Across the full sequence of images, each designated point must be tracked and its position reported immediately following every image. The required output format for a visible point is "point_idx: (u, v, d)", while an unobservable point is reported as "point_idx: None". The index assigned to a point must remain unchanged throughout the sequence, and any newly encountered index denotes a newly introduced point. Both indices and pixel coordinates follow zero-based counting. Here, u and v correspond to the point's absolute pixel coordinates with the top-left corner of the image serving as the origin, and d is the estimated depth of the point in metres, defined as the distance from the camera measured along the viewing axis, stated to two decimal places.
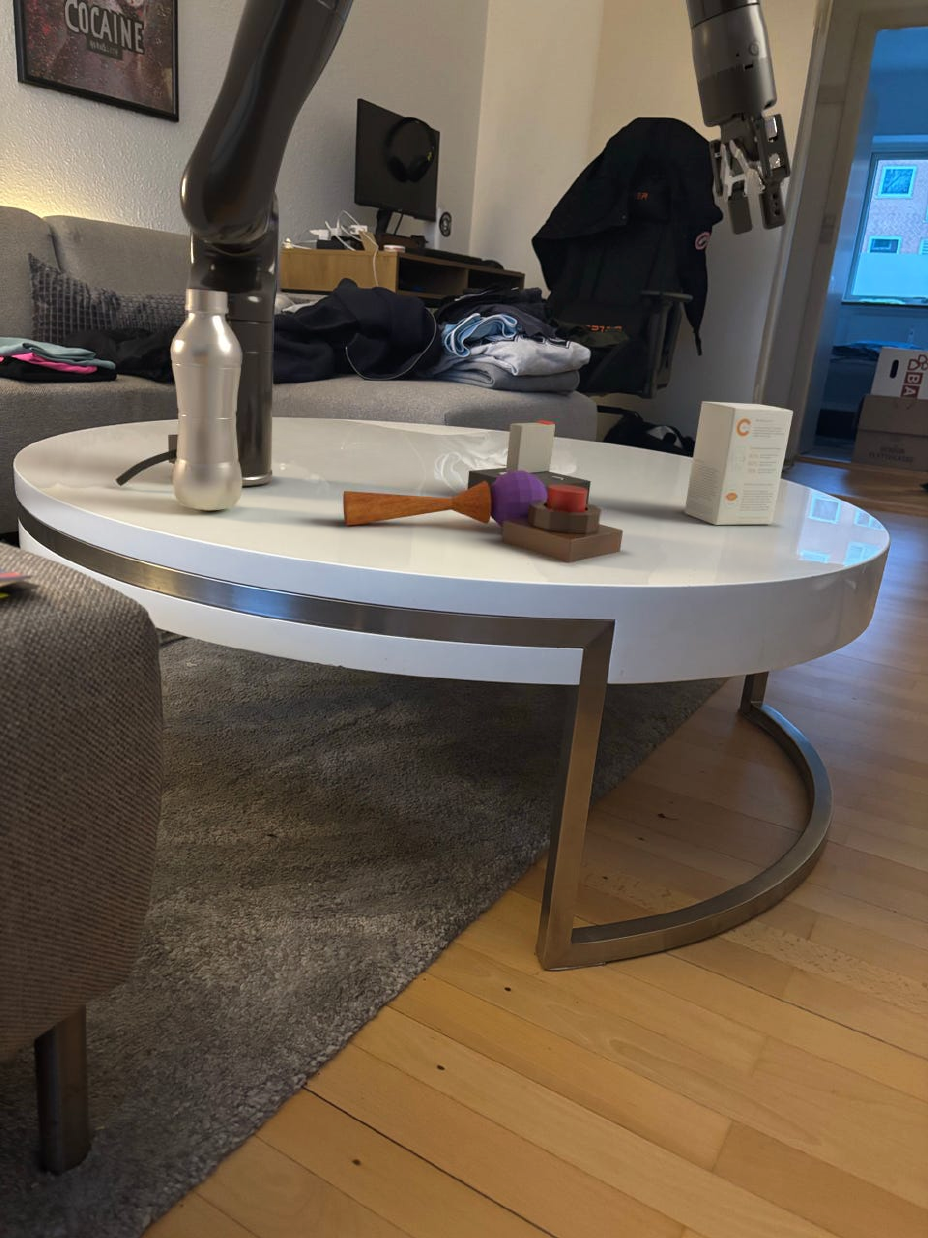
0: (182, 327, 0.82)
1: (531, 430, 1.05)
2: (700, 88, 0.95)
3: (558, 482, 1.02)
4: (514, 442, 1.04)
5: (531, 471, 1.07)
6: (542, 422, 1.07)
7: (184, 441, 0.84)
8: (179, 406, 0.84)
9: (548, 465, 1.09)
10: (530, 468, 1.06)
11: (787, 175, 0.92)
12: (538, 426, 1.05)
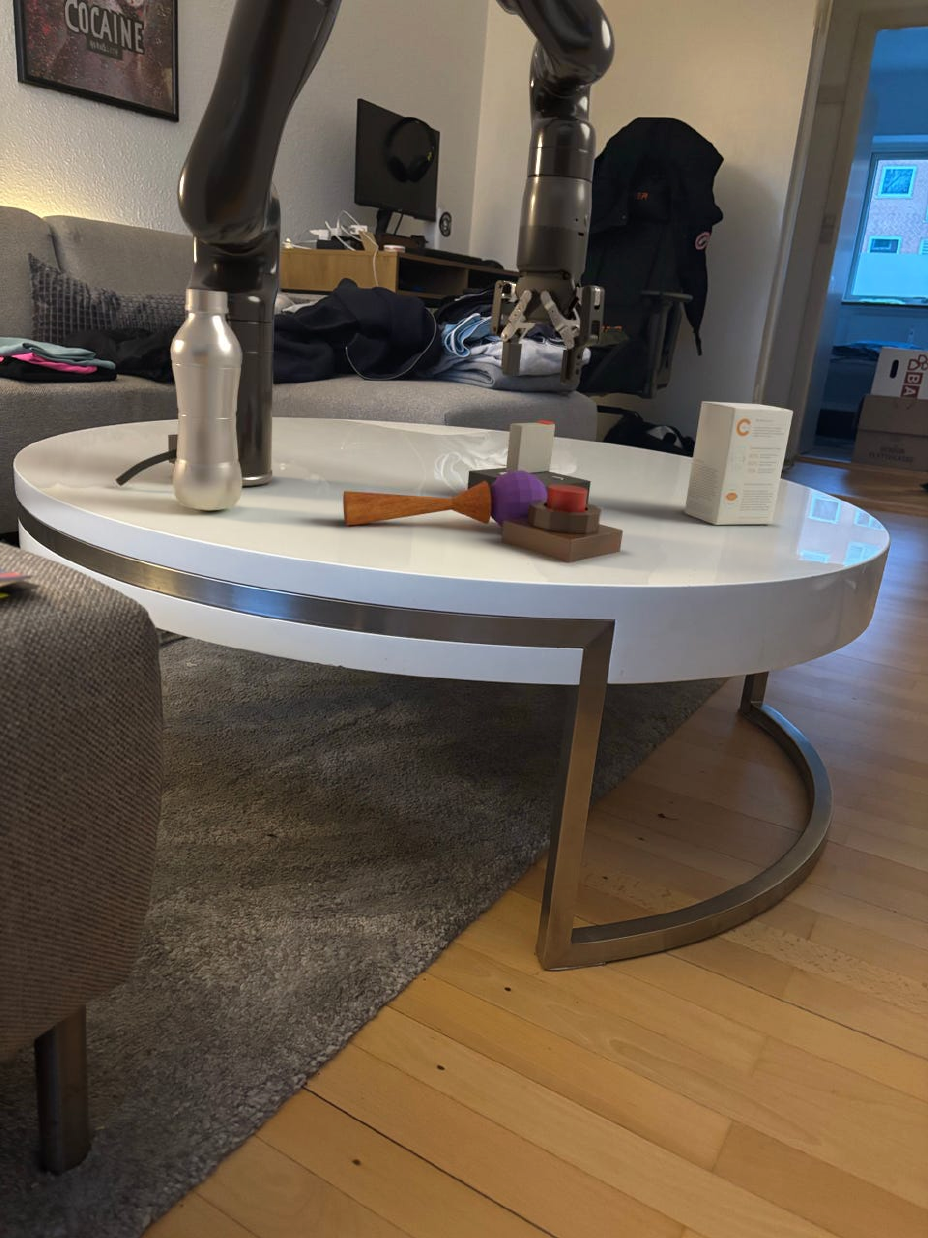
0: (182, 327, 0.82)
1: (531, 430, 1.05)
2: (531, 233, 0.97)
3: (558, 482, 1.02)
4: (514, 442, 1.04)
5: (531, 471, 1.07)
6: (542, 422, 1.07)
7: (184, 441, 0.84)
8: (179, 406, 0.84)
9: (548, 465, 1.09)
10: (530, 468, 1.06)
11: (597, 343, 0.99)
12: (538, 426, 1.05)
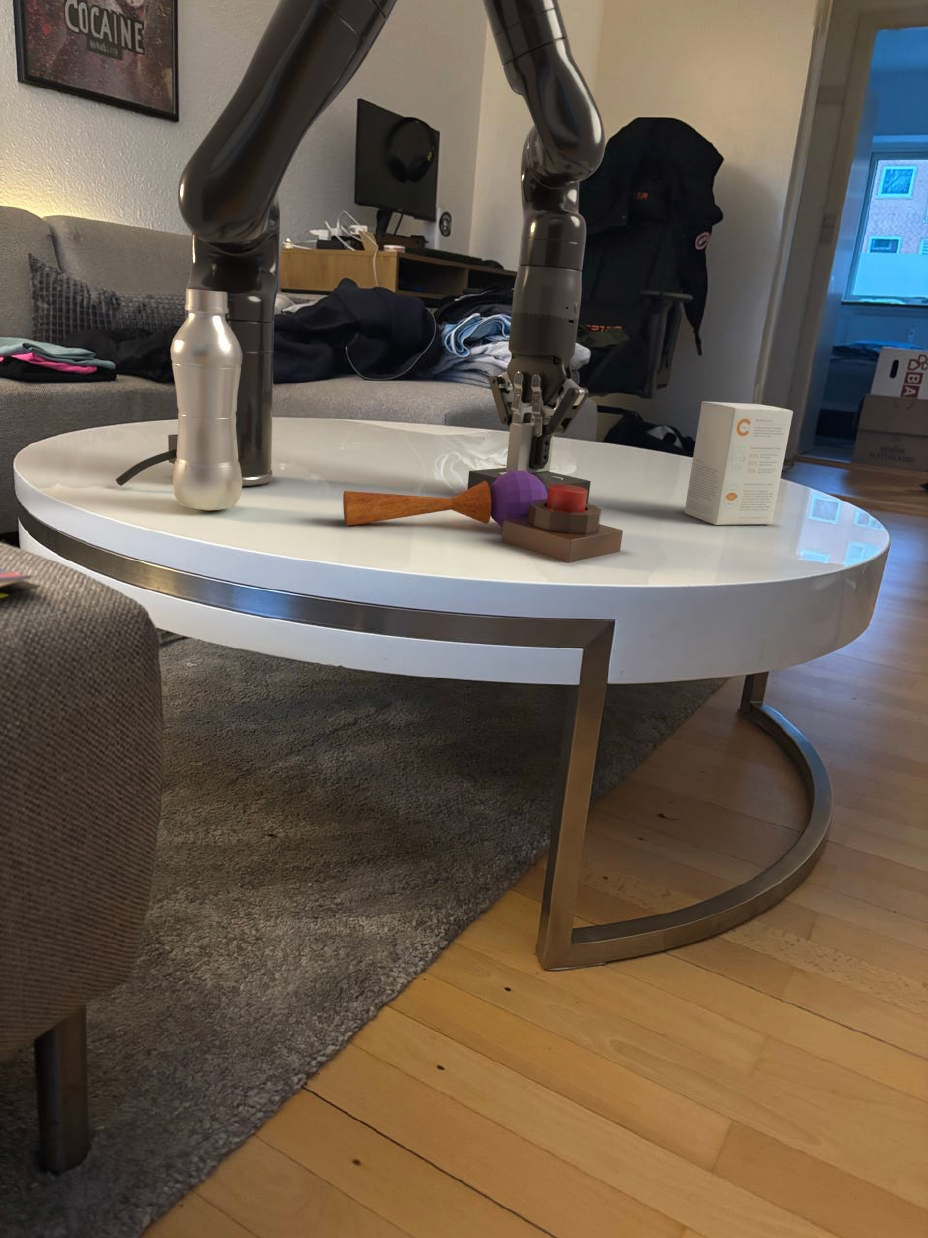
0: (182, 327, 0.82)
1: (531, 430, 1.05)
2: (523, 319, 1.00)
3: (558, 482, 1.02)
4: (514, 442, 1.04)
5: (531, 471, 1.07)
6: None
7: (184, 441, 0.84)
8: (179, 406, 0.84)
9: (548, 465, 1.09)
10: (530, 468, 1.06)
11: None
12: None
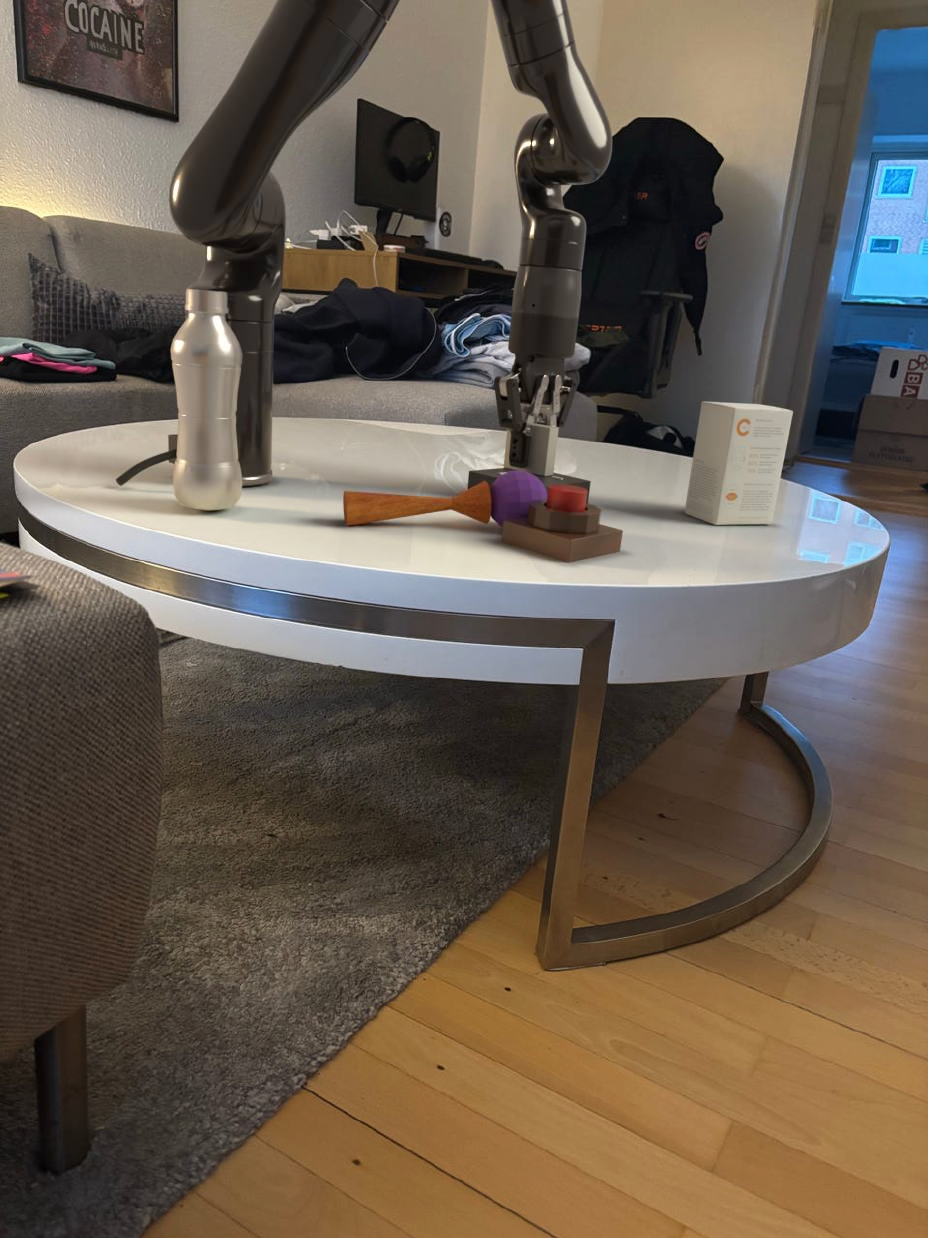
0: (182, 327, 0.82)
1: None
2: (572, 324, 1.00)
3: (558, 482, 1.02)
4: (552, 445, 1.05)
5: None
6: None
7: (184, 441, 0.84)
8: (179, 406, 0.84)
9: None
10: None
11: None
12: (538, 425, 1.07)
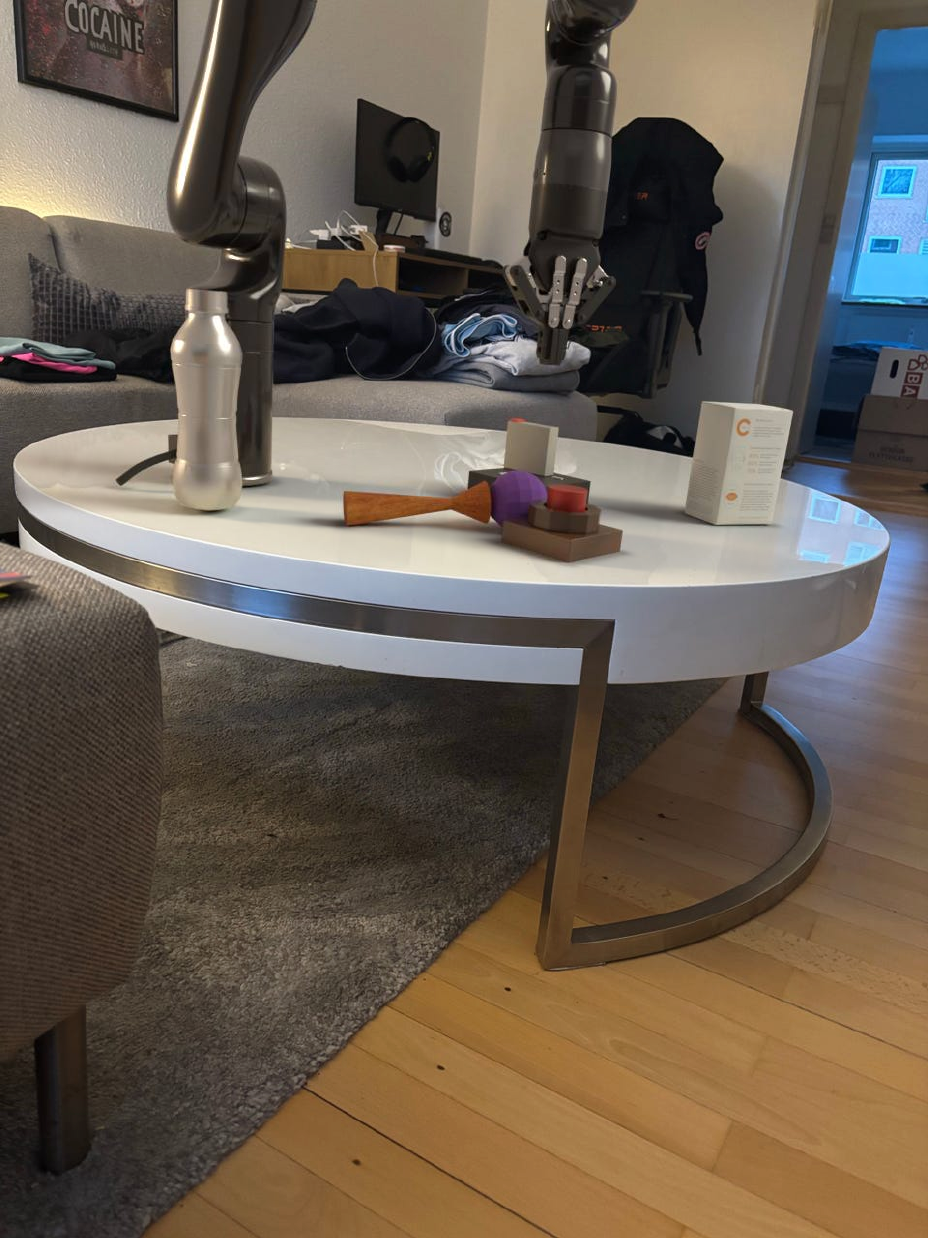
0: (182, 327, 0.82)
1: None
2: (590, 195, 0.89)
3: (558, 482, 1.02)
4: (552, 445, 1.05)
5: None
6: (520, 420, 1.07)
7: (184, 441, 0.84)
8: (179, 406, 0.84)
9: None
10: None
11: None
12: (538, 425, 1.07)
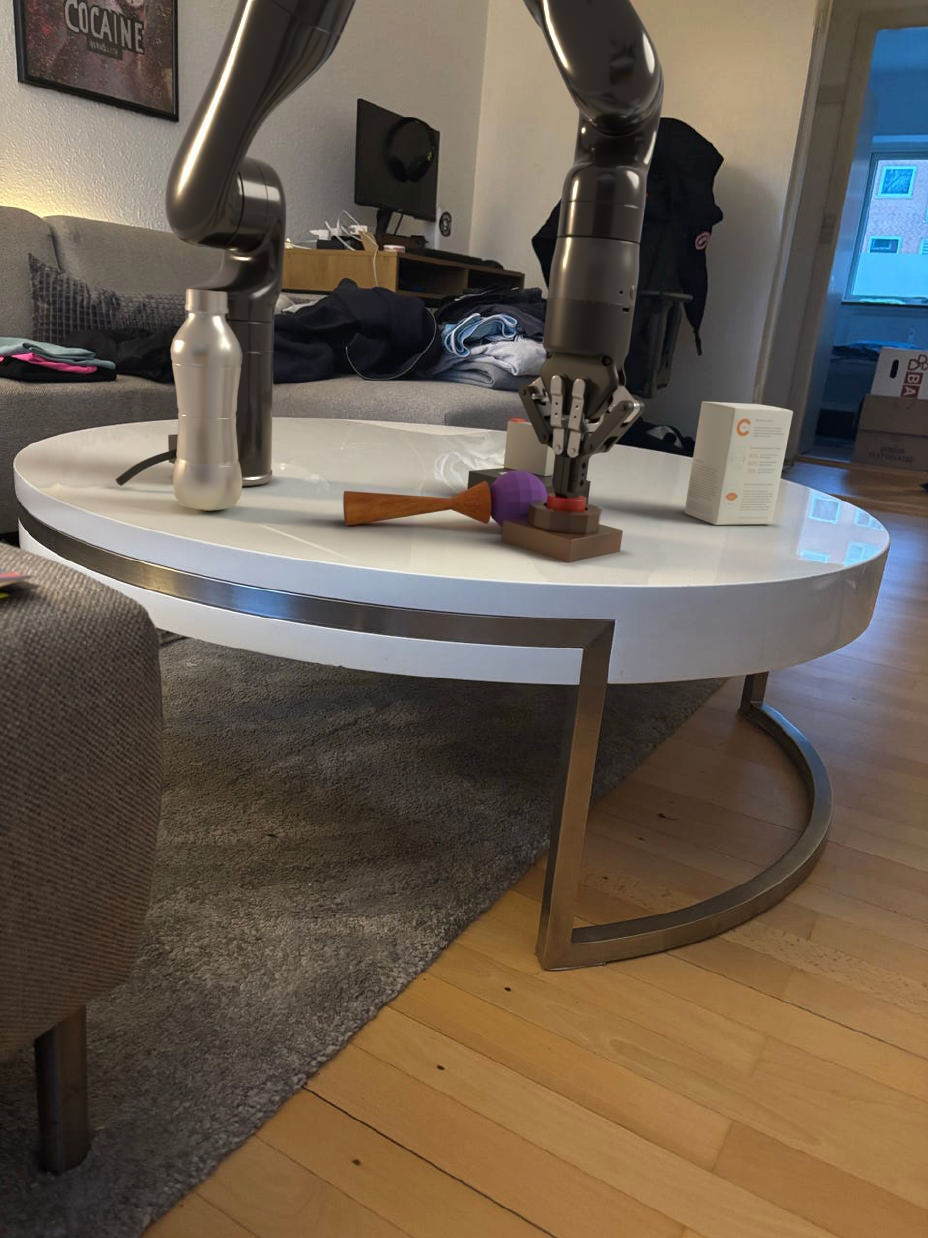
0: (182, 327, 0.82)
1: None
2: (564, 307, 0.76)
3: None
4: None
5: None
6: (520, 420, 1.07)
7: (184, 441, 0.84)
8: (179, 406, 0.84)
9: None
10: None
11: (602, 452, 0.82)
12: None
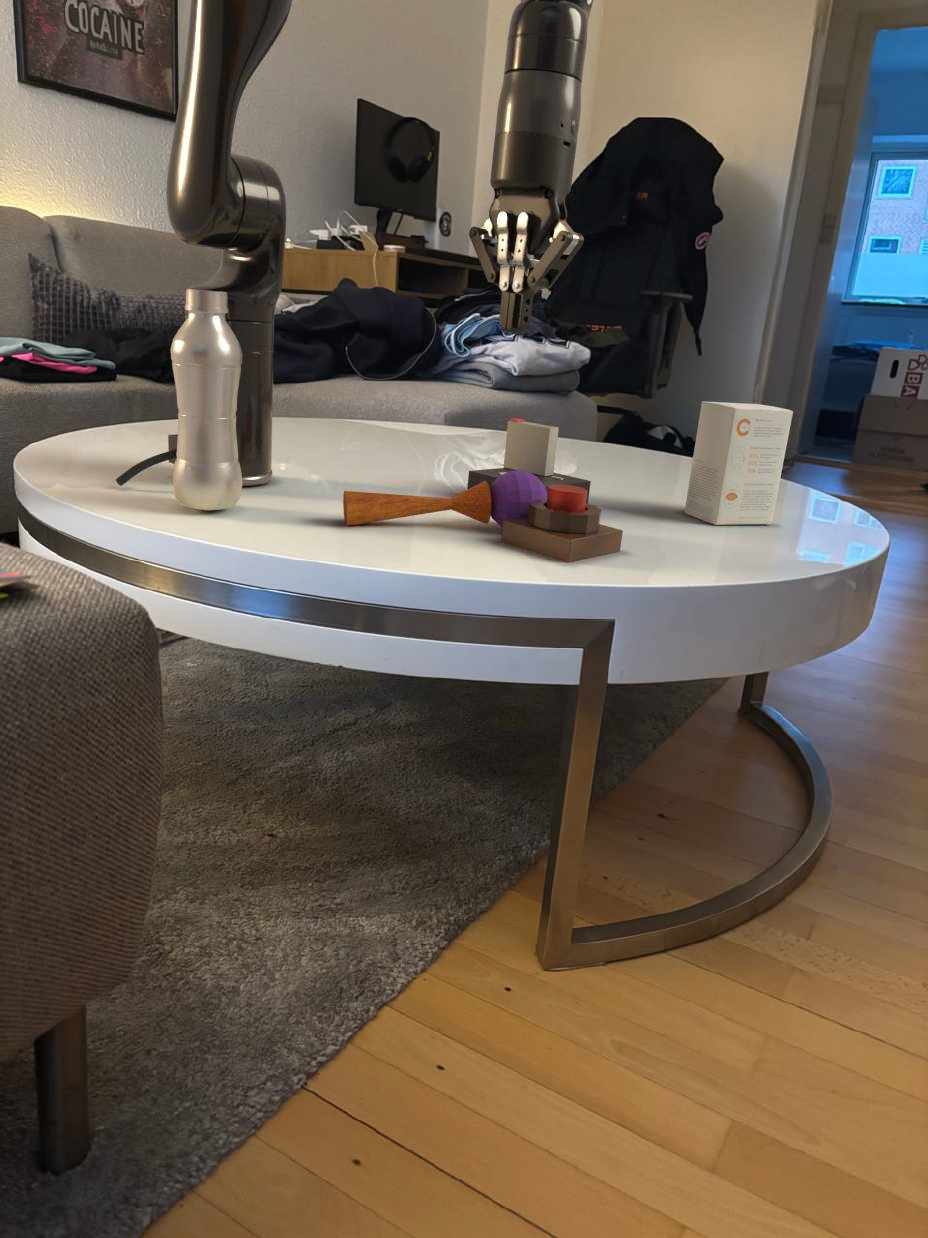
0: (182, 327, 0.82)
1: None
2: (508, 140, 0.81)
3: (558, 482, 1.02)
4: (552, 445, 1.05)
5: None
6: (520, 420, 1.07)
7: (184, 441, 0.84)
8: (179, 406, 0.84)
9: None
10: None
11: None
12: (538, 425, 1.07)
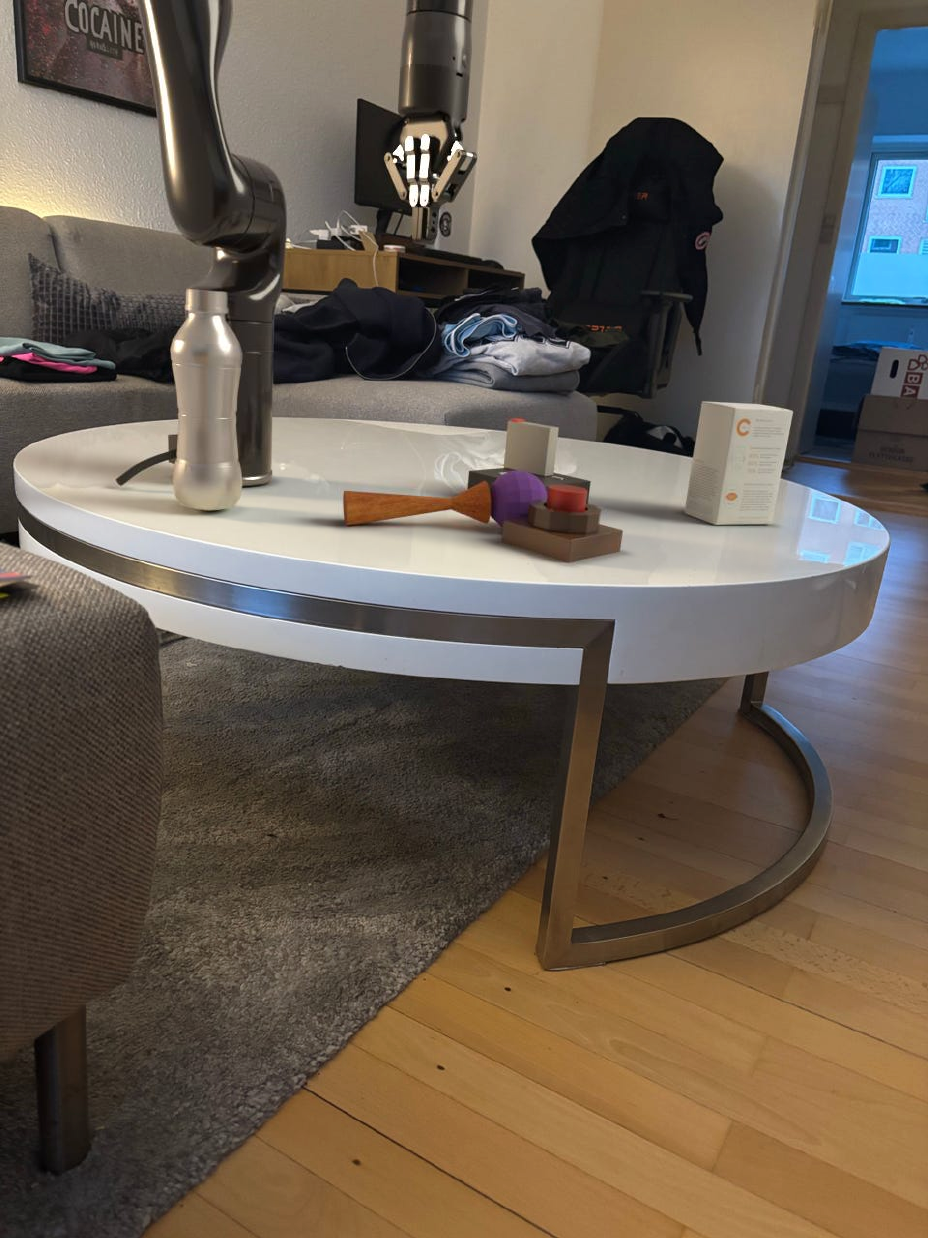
0: (182, 327, 0.82)
1: None
2: (409, 72, 0.96)
3: (558, 482, 1.02)
4: (552, 445, 1.05)
5: None
6: (520, 420, 1.07)
7: (184, 441, 0.84)
8: (179, 406, 0.84)
9: None
10: None
11: (448, 202, 1.01)
12: (538, 425, 1.07)
